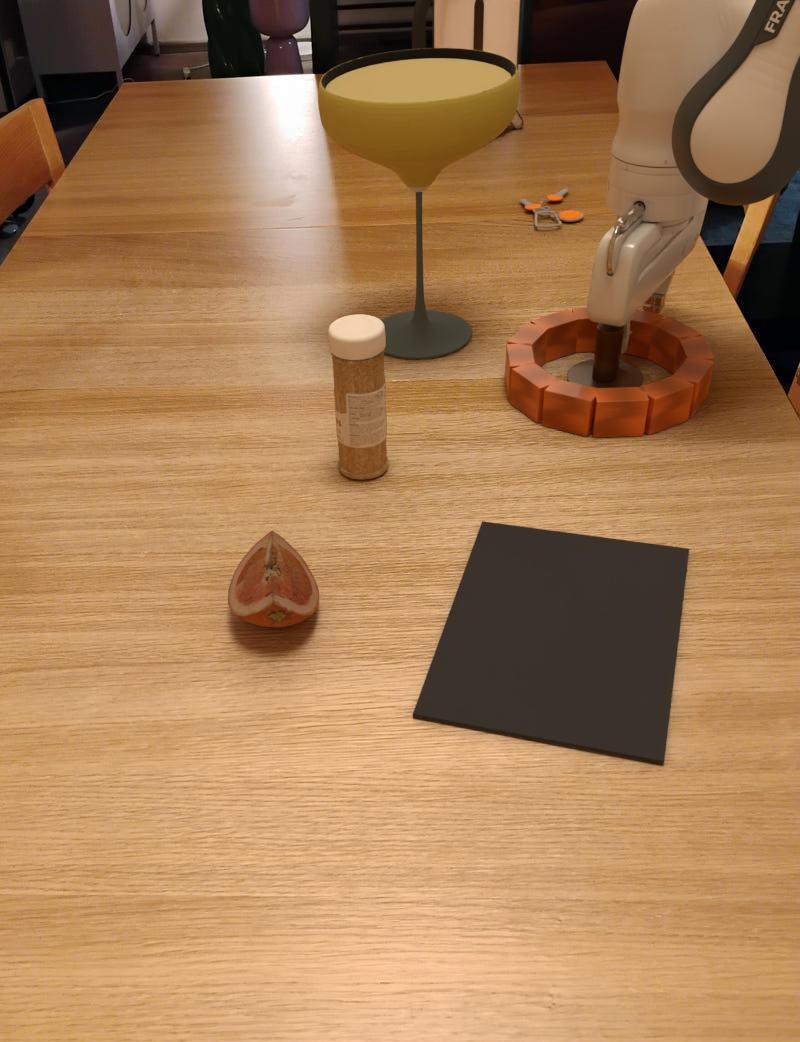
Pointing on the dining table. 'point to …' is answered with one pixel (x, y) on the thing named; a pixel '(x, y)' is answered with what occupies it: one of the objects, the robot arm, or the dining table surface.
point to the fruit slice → (273, 585)
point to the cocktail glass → (419, 145)
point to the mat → (562, 641)
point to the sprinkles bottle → (360, 394)
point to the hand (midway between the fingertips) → (636, 329)
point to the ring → (607, 406)
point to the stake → (606, 363)
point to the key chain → (540, 210)
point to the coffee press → (471, 27)
